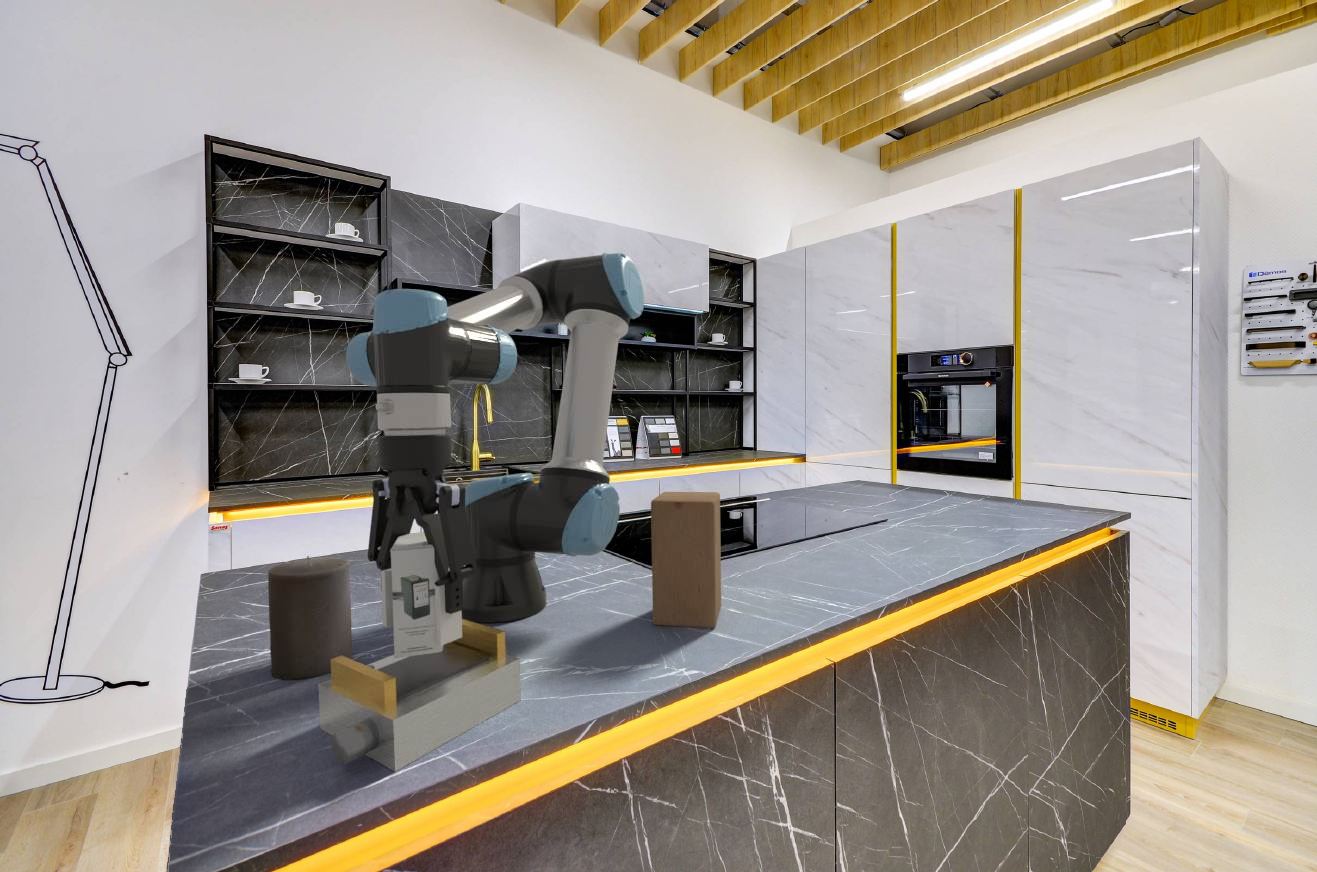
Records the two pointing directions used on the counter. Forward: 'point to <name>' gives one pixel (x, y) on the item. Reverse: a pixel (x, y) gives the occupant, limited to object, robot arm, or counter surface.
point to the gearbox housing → (417, 697)
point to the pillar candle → (309, 616)
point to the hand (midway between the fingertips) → (421, 631)
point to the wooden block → (686, 559)
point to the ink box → (414, 596)
